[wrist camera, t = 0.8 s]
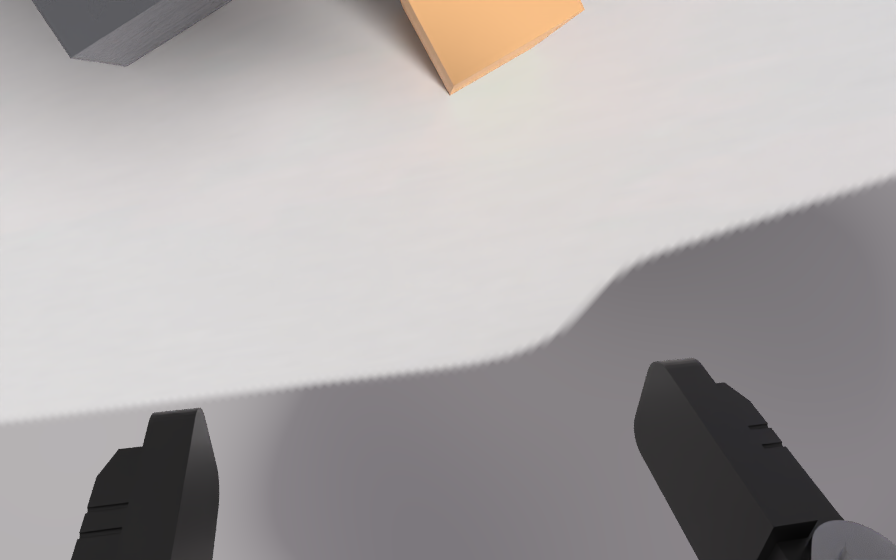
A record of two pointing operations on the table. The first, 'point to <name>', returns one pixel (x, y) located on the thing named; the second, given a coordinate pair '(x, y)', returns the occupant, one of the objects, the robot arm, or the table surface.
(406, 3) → the square peg
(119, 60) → the gray slotted block
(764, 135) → the table surface
